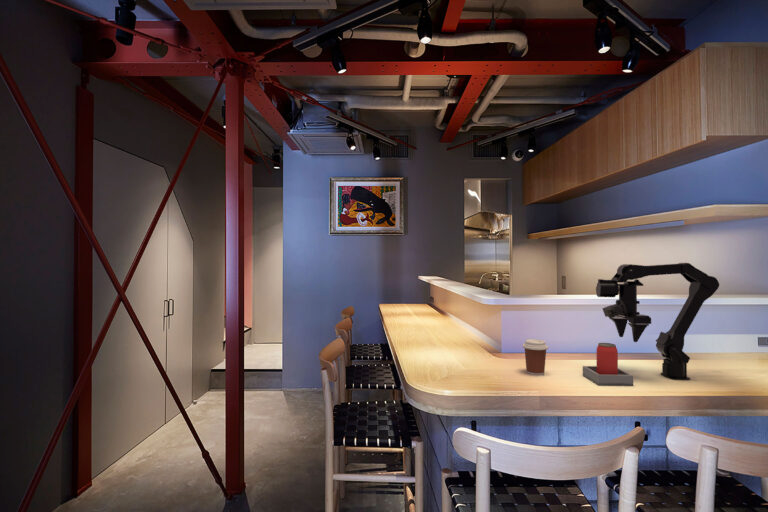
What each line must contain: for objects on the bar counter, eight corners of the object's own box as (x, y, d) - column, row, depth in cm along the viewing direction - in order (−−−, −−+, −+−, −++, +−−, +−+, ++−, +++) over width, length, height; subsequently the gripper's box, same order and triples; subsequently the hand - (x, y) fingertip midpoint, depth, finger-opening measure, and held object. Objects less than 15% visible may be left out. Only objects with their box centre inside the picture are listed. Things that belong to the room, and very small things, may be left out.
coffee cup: (544, 369, 154) (543, 338, 154) (551, 376, 145) (551, 343, 145) (520, 369, 155) (519, 338, 155) (526, 375, 146) (525, 343, 146)
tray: (614, 375, 146) (614, 366, 146) (633, 385, 134) (633, 375, 134) (582, 375, 146) (582, 366, 146) (598, 385, 135) (598, 375, 135)
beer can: (620, 381, 136) (620, 346, 136) (600, 380, 138) (600, 345, 138) (613, 376, 143) (613, 342, 143) (593, 374, 144) (593, 341, 144)
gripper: (593, 295, 158) (593, 334, 157) (619, 300, 139) (620, 344, 139) (622, 295, 157) (622, 334, 157) (652, 300, 138) (652, 344, 138)
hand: (628, 339), depth 148 cm, fingers open, 9 cm apart
